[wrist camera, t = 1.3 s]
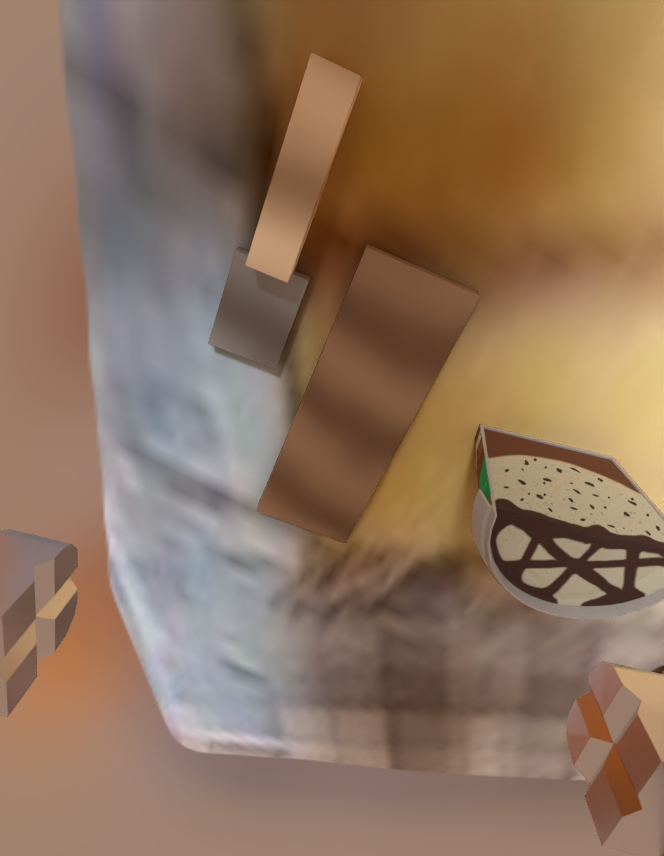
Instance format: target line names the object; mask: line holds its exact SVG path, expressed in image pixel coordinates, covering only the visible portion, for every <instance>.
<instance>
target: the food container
mask: <svg viewBox="0 0 664 856" xmlns="http://www.w3.org/2000/svg"><path fill="white" fill-rule="evenodd" d="M475 462H476V470H477V478H478V487H479V489H478V492H477V495H476V498H475V500H474V503H473V510H472V516H471V522H472V534H473V538H474V542H475V545H476V547H477V549H478V551H479V553H480V555H481V557H482V559H483V561H484V562H485V564H486V566H487V568H488V569H489V571H490V573H491V574H492V575H493V576H494V578H495V579H496V580H497V582H498V583H499V584H500V585H501V586H502V587H504V588H505V590H507V591H508V592H509V593H510V594H511V595H512V596H513V597H514V598H516V599H517V600H519V601H520V602H522V603H523V604H525V605H527V606H529V607H531V608H533V609H535V610H538V611H540V612H543V613H547V614H550V615H553V616H558V617H564V618H570V619H603V618H610V617H616V616H622V615H626V614H630V613H633V612H637V611H640V610H643V609H645V608H648V607H651V606H653V605H656V604H658V603H660V602H662V601H664V515H663V514H662V512H661V511H660V510H659V509H658V508H657V507H656V505H655V504H654V503H653V502H652V501H651V500H650V499H649V497H648V496H647V495H646V494H645V493H644V492H643V491H642V489H641V488H640V487H639V486H638V485H637V484H636V483H635V481H634V480H633V479H632V478H631V477H630V476H629V475H628V473H627V472H626V471H625V470H624V469H623V468H622V467H621V465H620V464H619V463H618V462H617V461H616V460H615V459H614V457H611V456H607V455H603V454H599V453H595V452H591V451H587V450H583V449H579V448H575V447H571V446H567V445H562V444H558V443H554V442H550V441H546V440H542V439H538V438H534V437H530V436H526V435H522V434H518V433H514V432H510V431H506V430H502V429H498V428H494V427H490V426H486V425H482V424H480V425H479V428H478V431H477V434H476V437H475Z"/></svg>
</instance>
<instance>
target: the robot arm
mask: <svg viewBox="0 0 664 856" xmlns="http://www.w3.org/2000/svg"><path fill="white" fill-rule="evenodd" d="M77 551H78V550H77V548H76V547H75V546H73V545H72V544H69V543H65V542H61V541H57V540H52V539H49V538H45V537H40V536H36V535H32V534H28V533H24V532H20V531H16V530H12V529H5V528H1V527H0V716H6V717H8V716H9V715H10V713H11V712H12V711H13V709H14V708H15V706H16V705H17V704H18V702H19V701H20V700H21V698H22V697H23V695H24V694H25V693H26V691H27V690H28V688H29V687H30V686H31V684H32V683H33V682H34V680H35V679H36V677H37V661H38V660H40V659H42V658H44V657H46V656H48V655H50V654H51V653H53V652H55V651H56V649H57V648H58V646H59V645H60V644H61V642H62V641H63V639H64V638H65V636H66V634H67V632H68V630H69V627H70V624H71V623H72V620H73V618H74V615H75V610H76V605H77V594H78V590H77V588H76V586H75V585H74V584H73V582H72V581H71V579H70V578H69V577H70V576H71V575H72V573H73V572H74V571H75V570H76V568H77V567H78V554H77V553H78V552H77ZM588 682H589V685H590V688H591V691H590V692H589V693H587V694H585V695H583V696H581V697H579V698H577V699H576V700H575V702H574V704H573V706H572V708H571V710H570V712H569V714H568V723H567V732H566V734H567V741H568V749H569V752H570V755H571V758H572V761H573V764H574V766H575V767H576V768H577V770H578V771H579V772H580V773H581V774H582V775H583V776H584V777H585V779H586V780H587V781H588V782H589V786H588V788H587V791H586V794H585V799H586V802H587V805H588V808H589V811H590V814H591V816H592V819H593V822H594V825H595V828H596V831H597V834H598V837H599V839H600V842H601V845H602V847H606V848H610V849H614V850H618V851H622V852H626V853H630V854H634V855H638V856H664V675H663V674H659V673H655V672H650V671H645V670H641V669H636V668H631V667H627V666H622V665H617V664H613V663H608V662H601V663H600V664H598V665H597V666H595V667H594V668H593V670H592V672H591V674H590V675H589V677H588Z"/></svg>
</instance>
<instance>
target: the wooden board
mask: <svg viewBox="0 0 664 856" xmlns="http://www.w3.org/2000/svg"><path fill="white" fill-rule="evenodd" d="M479 298H480V295H479V293H478V292H477V291H475V290H472V289H470V288H468V287H466V286H463V285H461V284H459V283H456V282H454V281H452V280H449V279H447V278H445V277H442V276H440V275H438V274H436V273H433V272H431V271H429V270H426V269H424V268H422V267H419V266H417V265H415V264H412V263H410V262H408V261H405V260H403V259H401V258H399V257H396V256H394V255H392V254H389V253H387V252H385V251H382V250H380V249H378V248H375V247H373V246H371V245H369V244H367V245H366V247H365V249H364V252H363V254H362V257H361V259H360V262H359V264H358V266H357V269H356V271H355V274H354V276H353V278H352V281H351V283H350V286H349V288H348V290H347V293H346V295H345V298H344V300H343V302H342V305H341V307H340V310H339V312H338V314H337V317H336V319H335V322H334V324H333V326H332V329H331V331H330V334H329V336H328V338H327V341H326V343H325V346H324V348H323V350H322V353H321V355H320V358H319V360H318V362H317V365H316V367H315V370H314V372H313V374H312V377H311V379H310V382H309V384H308V386H307V389H306V391H305V394H304V396H303V398H302V401H301V403H300V406H299V408H298V410H297V413H296V415H295V418H294V420H293V423H292V425H291V427H290V430H289V432H288V435H287V437H286V439H285V442H284V444H283V447H282V449H281V451H280V454H279V456H278V459H277V461H276V463H275V466H274V468H273V471H272V473H271V475H270V478H269V480H268V483H267V485H266V487H265V490H264V492H263V495H262V497H261V499H260V502H259V505H258V508H257V512H260V513H262V514H265V515H268V516H271V517H274V518H276V519H279V520H282V521H285V522H288V523H290V524H293V525H296V526H299V527H302V528H304V529H307V530H310V531H313V532H316V533H318V534H321V535H324V536H327V537H330V538H332V539H335V540H338V541H341V542H344V543H346V541H347V539H348V538H349V536H350V534H351V532H352V530H353V528H354V527H355V525H356V523H357V521H358V519H359V517H360V516H361V514H362V512H363V510H364V508H365V506H366V505H367V503H368V501H369V499H370V497H371V495H372V494H373V492H374V490H375V488H376V486H377V484H378V483H379V481H380V479H381V477H382V475H383V474H384V472H385V470H386V468H387V466H388V464H389V463H390V461H391V459H392V457H393V455H394V453H395V452H396V450H397V448H398V446H399V444H400V442H401V441H402V439H403V437H404V435H405V433H406V431H407V430H408V428H409V426H410V424H411V422H412V421H413V419H414V417H415V415H416V413H417V411H418V410H419V408H420V406H421V404H422V402H423V400H424V399H425V397H426V395H427V393H428V391H429V389H430V388H431V386H432V384H433V382H434V380H435V378H436V377H437V375H438V373H439V371H440V369H441V367H442V366H443V364H444V362H445V360H446V358H447V357H448V355H449V353H450V351H451V349H452V347H453V346H454V344H455V342H456V340H457V338H458V336H459V335H460V333H461V331H462V329H463V327H464V325H465V324H466V322H467V320H468V318H469V316H470V314H471V313H472V311H473V309H474V307H475V305H476V304H477V302H478V300H479Z"/></svg>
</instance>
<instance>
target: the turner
mask: <svg viewBox="0 0 664 856" xmlns="http://www.w3.org/2000/svg"><path fill="white" fill-rule="evenodd" d="M361 84H362V78H361V76H360V75H358V74H356V73H354V72H352V71H349V70H347V69H345V68H343V67H341V66H339V65H337V64H335V63H333V62H330V61H328V60H326V59H324V58H322V57H320V56H318V55H316V54H314V53H311V54H310V58H309V61H308V64H307V67H306V71H305V74H304V77H303V80H302V83H301V87H300V90H299V93H298V96H297V100H296V103H295V106H294V109H293V112H292V116H291V119H290V122H289V125H288V129H287V132H286V135H285V138H284V141H283V145H282V148H281V151H280V154H279V158H278V161H277V164H276V167H275V170H274V174H273V177H272V180H271V183H270V187H269V190H268V193H267V196H266V199H265V203H264V206H263V209H262V212H261V216H260V219H259V222H258V225H257V228H256V232H255V235H254V238H253V241H252V245H251V248H250V251H247V250H245V249H243V248H240V247H239V248H238V249H237V250H236V252H235V255H234V258H233V262H232V265H231V268H230V272H229V275H228V278H227V282H226V285H225V289H224V292H223V295H222V299H221V302H220V305H219V309H218V312H217V315H216V319H215V322H214V326H213V329H212V332H211V336H210V339H209V342H208V344H210V345H213V346H215V347H218V348H220V349H223V350H225V351H228V352H231V353H233V354H236V355H238V356H241V357H243V358H246V359H248V360H251V361H253V362H256V363H259V364H261V365H264V366H266V367H269V368H271V369H274V370H276V367H277V365H278V362H279V360H280V357H281V354H282V352H283V349H284V346H285V344H286V341H287V338H288V336H289V333H290V330H291V328H292V325H293V322H294V320H295V317H296V314H297V312H298V309H299V306H300V304H301V301H302V298H303V296H304V293H305V290H306V288H307V285H308V282H309V280H310V277H309V276H307V275H305V274H302V273H300V272H298V271H295V268H296V265H297V262H298V259H299V257H300V254H301V251H302V248H303V246H304V243H305V240H306V237H307V234H308V232H309V229H310V226H311V223H312V220H313V218H314V215H315V212H316V209H317V206H318V204H319V201H320V198H321V195H322V193H323V190H324V187H325V184H326V181H327V179H328V176H329V173H330V170H331V167H332V165H333V162H334V159H335V156H336V153H337V151H338V148H339V145H340V142H341V140H342V137H343V134H344V131H345V128H346V126H347V123H348V120H349V117H350V114H351V112H352V109H353V106H354V103H355V100H356V98H357V95H358V92H359V89H360V86H361Z"/></svg>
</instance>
